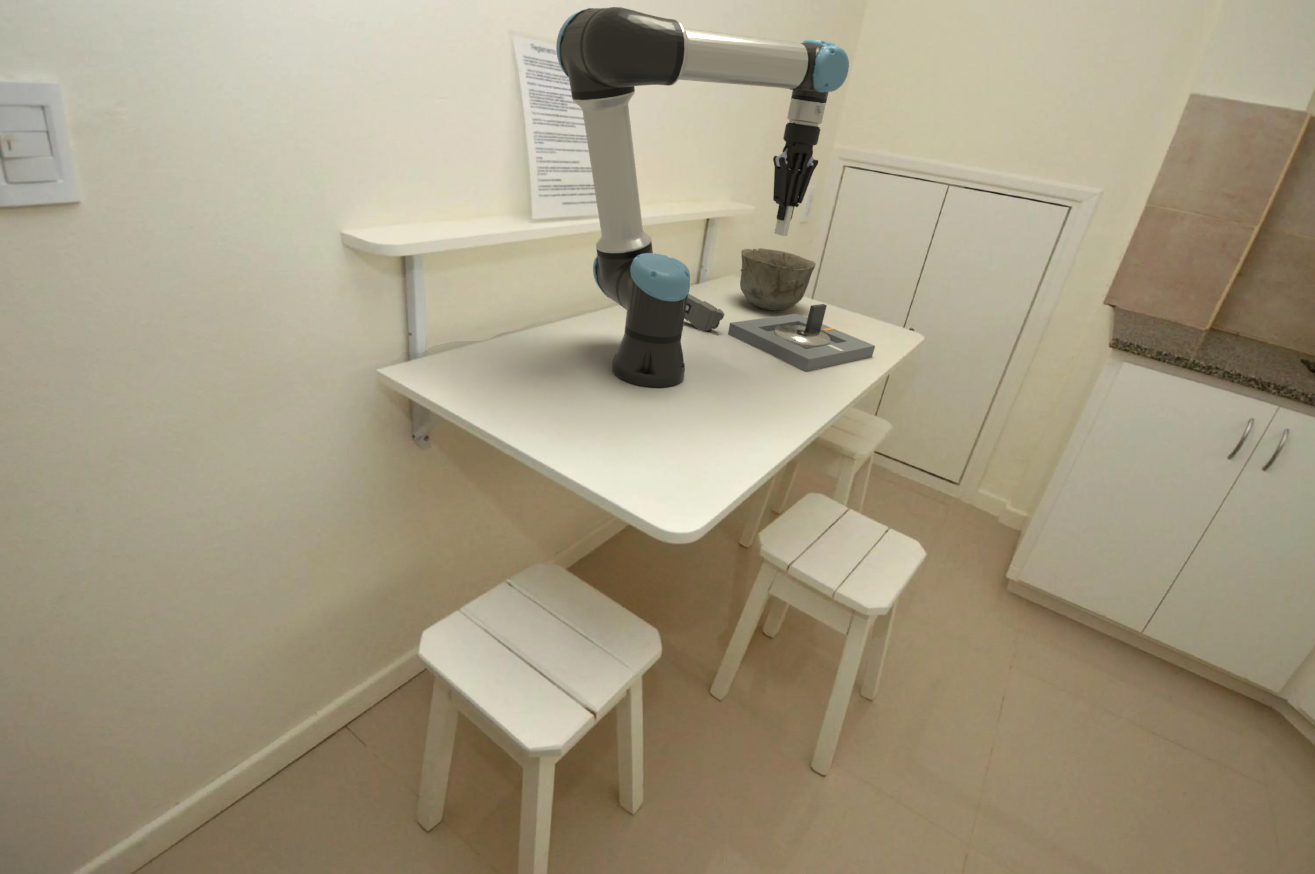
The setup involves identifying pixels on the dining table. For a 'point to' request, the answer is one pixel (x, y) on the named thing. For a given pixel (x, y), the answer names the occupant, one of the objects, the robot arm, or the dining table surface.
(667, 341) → the robot arm
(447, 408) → the dining table surface
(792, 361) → the panel
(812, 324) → the dial
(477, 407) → the dining table surface
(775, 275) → the bowl
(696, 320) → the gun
